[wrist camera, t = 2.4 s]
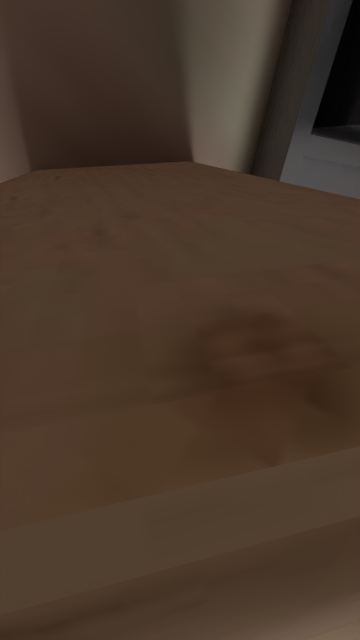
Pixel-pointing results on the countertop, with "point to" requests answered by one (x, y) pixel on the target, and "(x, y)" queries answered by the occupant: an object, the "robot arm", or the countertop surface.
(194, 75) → the countertop surface
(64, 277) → the wooden block
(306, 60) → the rack
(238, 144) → the countertop surface
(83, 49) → the countertop surface
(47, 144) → the countertop surface
